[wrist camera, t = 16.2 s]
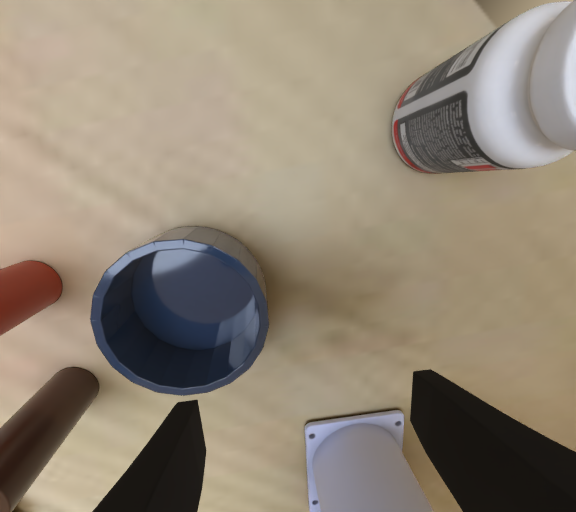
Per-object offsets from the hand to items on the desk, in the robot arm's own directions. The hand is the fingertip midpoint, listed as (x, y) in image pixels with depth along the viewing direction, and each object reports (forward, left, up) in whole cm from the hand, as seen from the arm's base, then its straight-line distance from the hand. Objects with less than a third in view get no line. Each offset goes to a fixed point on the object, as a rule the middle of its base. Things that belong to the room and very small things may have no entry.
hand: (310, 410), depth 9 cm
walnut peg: (-5, +15, -10) cm, 19 cm away
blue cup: (+1, +6, -10) cm, 12 cm away
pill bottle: (+10, -10, -11) cm, 18 cm away
